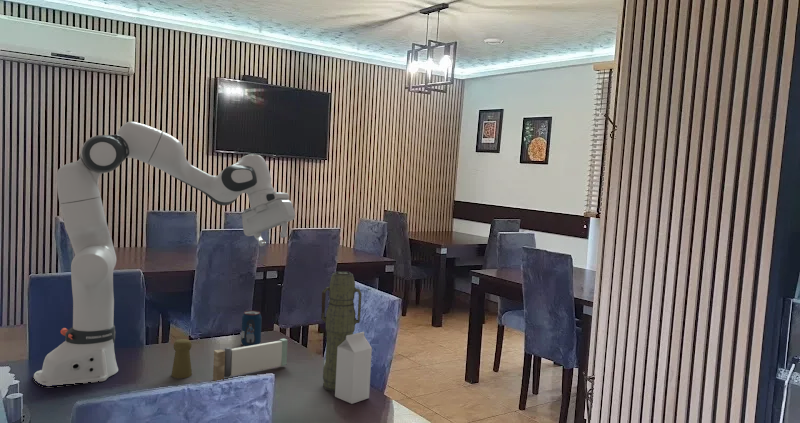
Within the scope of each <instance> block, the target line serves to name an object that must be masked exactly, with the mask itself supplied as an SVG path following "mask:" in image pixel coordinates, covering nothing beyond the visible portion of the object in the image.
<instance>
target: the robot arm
mask: <svg viewBox="0 0 800 423" xmlns="http://www.w3.org/2000/svg"><path fill="white" fill-rule="evenodd" d="M128 158H131V159H135V160H138V161H140V162H142V163H145V164H147V165H149V166H152V167H154V168H156V169H158V170H159V171H160V170H161V171H163V172H164V173H166V174H167V175H169V176H171V177H172V178H174V179H176V180H178V181H180V182H182V183H184V184H185V185H188V186H189V187H192V188H194V189H195V190H197V191H199V192H200V193H203V194H204V195H205V196H207V198H209V200H211V201H212V202H213V203H215V204H216V205H219V206H229V205H232V204H234V203H235V201H236V200H237V199H238V198H239V197H240V196H241V195H242V194H246V195H247V198H248V201H249V206H250V207H247V208H246V209H243V212H242V213H241V221H242V231H243V234H244V235H245V236H246V237H253V236H254V238H255V239H256V241H257V242H258V244H259V247H263V246H266V245H267V243H266V239H263V238H262V233H263V232H266V231H268V230H270V229H273V228H276V227H278V226H280V227H281V232H279V234H280V238H281V239H283V238H287V237H288V232H287V231H288V227H289V222H291V221H294V220H295V219H296V212H295V209H294V206H293V204H292V201H291V200H290V195H289V193H287V192H275V188H274V187H273V185H272V176H271V173H270V170H269V166H268V164H267V162H266V160H265V158H264V157H263V156H261V155H259V154H255V153H254V154H253V153H252V154H246V155H243V156H242V157H241V158H240V159H239V160H238V161H236V162H235V163H234V164H232V165H228V166H226V167H224V169H223V170H221V171H220V172H219V173H218V175H212V174H209V173H207V172H206V171H203V170H201V169H200V168H198V167H196V166H194V165H193V164H191V163H190V162H189V161H188V159H187V158H186V152H185V148H184V146H183V143H182V142H181V141H180V140H179V139H177V138H176V137H174V135H173V136H172V134H169V133H167V132H165V131H163V130H160V129H158V128H155V127H154V126H150V125H148V124H144V123H140V122H136V121H127V122H126V123H123V125H122V126H120V128H119V129H118V131H117V133H116V134H102V135H94V136H91V137H90V138H88V139H87V140H86V141H85V142H83V145H82V147H81V150H80V154H79V156H78V160H76V161H74V162H68V163H66V164H64V165H62V166H61V167H59V169H58V170H57V173H56V189H57V197H58V198H57V199H58V202H59V208H60V210H61V215H62V216H61V217H62V219H63V224H64V228H65V231H66V233H67V235H68V238H69V240H70V244H71V246H72V250H73V252H74V257H73V259H72V260H71V263H70V265H71V266H70V272H71V273H70V274H71V280H70V281H71V291H72V292H71V293H72V306H73V307H72V327H70V328H69V329H68V328H66V327H63V328H61V330H60V334H61V335H62V336H64V337H65V341H63V342H62V343H61V344H59V345H58V346H57V347H55V348H54V349H53V350H51V351H50V352H49V353H47V354H46V355H45V357H44V360H43V363H42V368H41V369H40V370H37V371H36V372H35V373H33V378H34V379H35V381H37V382H38V383H40V384H42V385H46V386H52V385H63V384H74V385H76V384H75V383H83V384H89V383H88V382H91V383H99V382H105V381H107V379H109V377H112V376H113V375H116V374H117V373H118V372H119V367H118V364H117V360H116V354H115V342H116V326H115V324H114V318H115V316H114V315H115V314H114V313H115V312H114V311H115V298H114V297H115V294H114V270H115V268H116V264H117V259H118V258H117V254H116V251H115V250H116V249H115V247H114V243H113V239H112V236H111V232H110V229H109V226H108V222H107V219H106V213H105V211H104V210H105V209H104V205H103V200H102V196H101V192H100V187H99V178H100V176H101V175H103V174H107V173H110V172H112V171H114V170H116V169H117V168H118V167H119V166H120V165H121V164H122V163H123V162H124V161H125V160H126V159H128ZM34 379H33V380H34ZM35 381H34V382H35ZM98 381H99V382H98Z"/></svg>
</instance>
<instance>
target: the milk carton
mask: <svg viewBox="0 0 800 423" xmlns="http://www.w3.org/2000/svg"><path fill="white" fill-rule="evenodd" d="M372 352H373V348H372V346H371V344H370V343H369V341H368V340H367V338H366V336H365V331H361V332H357V333H356V332H355V333H353V334H352V335H347V336H346V340H345V341H344V342H342V343H341V344H340V345H339V346H338V347H337V366H336V385H335V391H334V397H335V398H337V399H339V400H342V401H344V402H346V403H349V404H351V405H353V404H355V403H358V402H361V401H365V400H367V399H369V398H370V388H371V370H372V369H371V367H372Z"/></svg>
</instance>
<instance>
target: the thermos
mask: <svg viewBox="0 0 800 423" xmlns="http://www.w3.org/2000/svg"><path fill="white" fill-rule="evenodd" d="M327 291H328V293H329V294H328V296H329V297H328V298H329V302H328V307H327V310H326V295H327V294H326V293H327ZM355 293H357V294H358V301H357V302H358V304H357V305H358V306H357V318H356V309H355V303H354V301H355ZM361 308H362V291H361V289H360V288H357V287H356V281H355V278H354V274H353V273H351V272H350V271H346V270H345V271H344V270H343V271H342V270H339V271H335V272H332V275H331V277H330V281H329V286H326V287H324V289H322V292H321V320H322V322H324V323H325V331H326V346H325V347H326V348H325V361H324V364H323V369H322V370H323V371H322V372H323V373H322V379H323V382H322V387H323V389H325V390H327V391H330V392H335V385H336V366H337V347H338V346H339V345H340V344H341V343H342V342H344V341H345V340H346V336H347V335H352V334H354V332H355V331H356V330H355V329H356V325H357V324H360V321H361V314H362V312H361ZM325 314H326V315H325Z"/></svg>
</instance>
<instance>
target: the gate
mask: <svg viewBox="0 0 800 423" xmlns="http://www.w3.org/2000/svg"><path fill="white" fill-rule="evenodd" d="M224 351H225V367H224V378H230V377H231V376H233V377H234V376H237V375H243V374H247V373H253V372H257V371H263V370H268V369H272V368H278V367H284V366H287V362H288V361H287V359H288V358H287V357H288V339H286V338H279V340H275V341H270V342H264V343H260V344H257V345H251V346H239V347H234V348H232V347H224Z"/></svg>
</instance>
